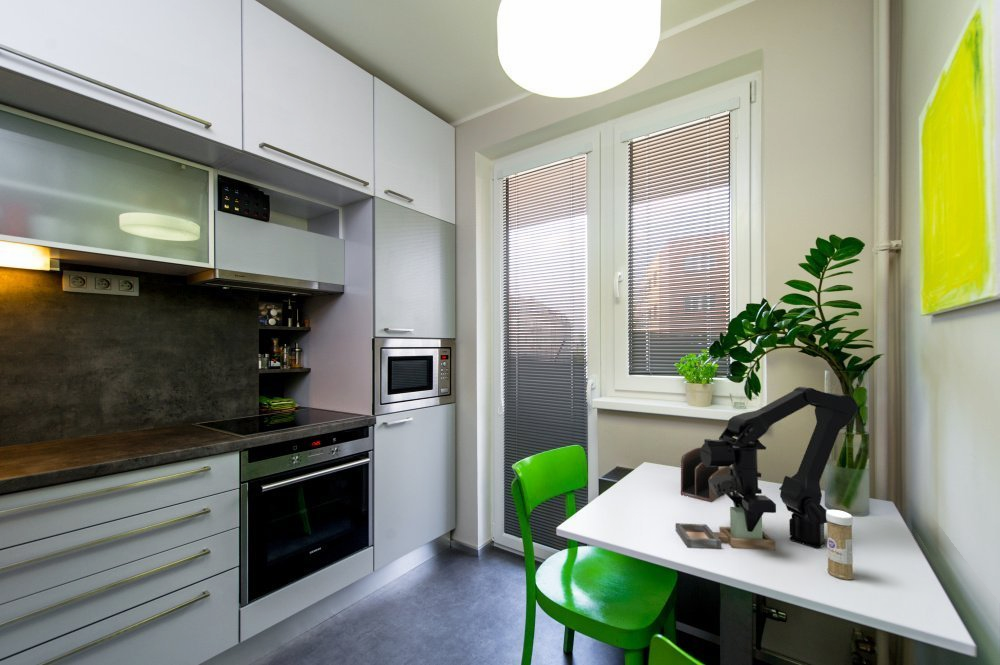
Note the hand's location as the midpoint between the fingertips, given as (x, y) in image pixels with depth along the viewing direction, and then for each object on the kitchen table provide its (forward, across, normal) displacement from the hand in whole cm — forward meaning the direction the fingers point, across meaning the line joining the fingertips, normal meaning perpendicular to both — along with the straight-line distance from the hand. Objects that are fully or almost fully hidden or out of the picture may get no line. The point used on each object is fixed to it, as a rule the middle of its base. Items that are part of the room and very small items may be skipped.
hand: (746, 527), depth 111 cm
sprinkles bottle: (+4, +15, +13) cm, 20 cm away
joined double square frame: (+4, 0, -6) cm, 7 cm away
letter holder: (+4, -39, +4) cm, 40 cm away
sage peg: (+4, 0, 0) cm, 4 cm away
